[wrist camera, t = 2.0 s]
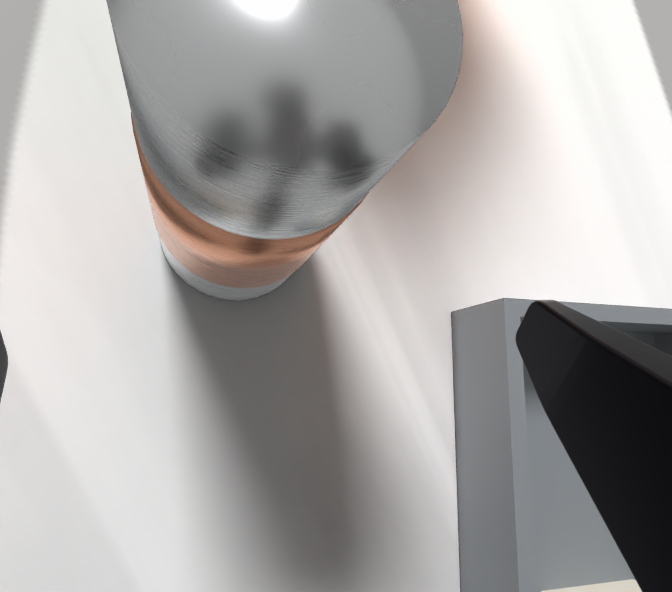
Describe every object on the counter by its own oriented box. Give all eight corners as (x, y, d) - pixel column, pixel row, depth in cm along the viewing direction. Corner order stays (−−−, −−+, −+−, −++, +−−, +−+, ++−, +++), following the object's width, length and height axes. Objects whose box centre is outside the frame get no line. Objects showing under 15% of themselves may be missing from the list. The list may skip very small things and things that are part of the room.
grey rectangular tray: (698, 755, 22) (802, 831, 19) (468, 817, 19) (536, 925, 15) (652, 322, 26) (732, 312, 22) (451, 311, 23) (503, 297, 19)
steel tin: (304, 305, 21) (471, 193, 8) (151, 297, 19) (78, 141, 7) (307, 170, 22) (458, -105, 9) (163, 151, 20) (117, -215, 8)
